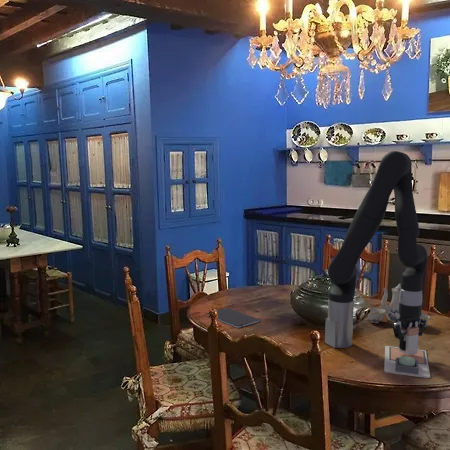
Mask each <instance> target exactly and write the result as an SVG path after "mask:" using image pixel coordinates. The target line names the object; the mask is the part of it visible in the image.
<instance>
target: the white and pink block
mask: <svg viewBox="0 0 450 450" xmlns="http://www.w3.org/2000/svg"><path fill="white" fill-rule="evenodd" d="M402 330H403V331H405V332H406V330H404V329H403V328H402ZM418 332H420V329H419V327H416V328H415V327H411V328H410V329H408V334H407V337H406V350H405V351H403V350H401V349H400V348H399V352H401V353H403V354H405V355H407V356H409V355H413V354H417V350H419V347H418V346H419V345H418V344H419V337H418ZM402 336H404V333H402ZM399 341H400V340H399V339H398V342H399Z"/></svg>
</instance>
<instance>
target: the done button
mask: <svg viewBox="0 0 450 450" xmlns="http://www.w3.org/2000/svg"><path fill="white" fill-rule="evenodd" d="M399 365H401V366H409V367H415V359H414V358H412V357H409V356H401V357H399Z"/></svg>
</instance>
